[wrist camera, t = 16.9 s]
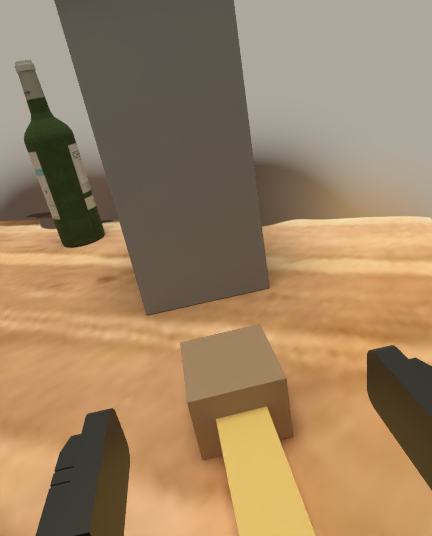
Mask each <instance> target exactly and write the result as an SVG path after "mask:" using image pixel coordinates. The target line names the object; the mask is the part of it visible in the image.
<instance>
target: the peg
mask: <svg viewBox="0 0 432 536" xmlns="http://www.w3.org/2000/svg"><path fill="white" fill-rule="evenodd" d="M180 345H181V354H182V362H183V371H184V380H185V388H186V397H187V404H188V408H189V411H190V415H191V419H192V422H193V426H194V430H195V433H196V437H197V441H198V445H199V448H200V452H201V456H202V459H203V460H206V459H210V458H213V457H217V456H221V455H223V457H224V462H225V467H226V472H227V477H228V482H229V487H230V492H231V497H232V502H233V507H234V512H235V517H236V522H237V527H238V532H239V536H316V535H315V532H314V530H313V527H312V524H311V522H310V519H309V516H308V514H307V511H306V508H305V506H304V503H303V501H302V498H301V495H300V493H299V490H298V487H297V485H296V482H295V479H294V477H293V474H292V471H291V469H290V466H289V463H288V461H287V458H286V456H285V453H284V450H283V448H282V445H281V442H280V440H283V439H287V438H291V437H293V432H292V423H291V415H290V406H289V397H288V389H287V380H286V377H285V374H284V372H283V370H282V368H281V366H280V364H279V362H278V360H277V358H276V356H275V354H274V352H273V350H272V348H271V346H270V344H269V342H268V340H267V338H266V335H265V333H264V331H263V329H262V327H261V325H260V324H258V325H254V326H249V327H245V328H241V329H237V330H232V331H228V332H224V333H220V334H215V335H211V336H207V337H203V338H198V339H194V340H190V341H186V342H181V343H180Z"/></svg>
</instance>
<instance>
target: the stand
mask: <svg viewBox="0 0 432 536" xmlns="http://www.w3.org/2000/svg"><path fill="white" fill-rule="evenodd" d="M54 1H55V4H56V7H57V10H58V14H59V17H60V21H61V24H62V28H63V31H64V34H65V38H66V41H67V45H68V48H69V52H70V55H71V58H72V62H73V65H74V68H75V72H76V75H77V79H78V82H79V86H80V89H81V92H82V96H83V99H84V103H85V106H86V109H87V113H88V116H89V119H90V123H91V126H92V130H93V133H94V136H95V140H96V143H97V147H98V150H99V154H100V157H101V160H102V164H103V167H104V170H105V174H106V177H107V180H108V184H109V187H110V191H111V194H112V198H113V201H114V204H115V208H116V211H117V214H118V218H119V222H120V225H121V228H122V232H123V235H124V239H125V242H126V245H127V249H128V252H129V256H130V259H131V262H132V266H133V269H134V273H135V276H136V279H137V283H138V286H139V290H140V293H141V296H142V300H143V303H144V307H145V310H146V313H147V315H150V314H155V313H159V312H164V311H168V310H173V309H177V308H182V307H186V306H191V305H195V304H200V303H204V302H209V301H213V300H218V299H222V298H227V297H231V296H236V295H240V294H245V293H249V292H254V291H258V290H263V289H267V288H269V281H268V273H267V265H266V257H265V249H264V241H263V233H262V224H261V217H260V208H259V200H258V192H257V184H256V176H255V168H254V160H253V153H252V144H251V137H250V129H249V120H248V112H247V104H246V96H245V88H244V80H243V71H242V63H241V56H240V47H239V39H238V31H237V23H236V15H235V7H234V0H54Z"/></svg>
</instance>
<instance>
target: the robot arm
mask: <svg viewBox="0 0 432 536" xmlns="http://www.w3.org/2000/svg"><path fill="white" fill-rule="evenodd" d="M367 391H368V395H369V398H370V401H371V403H372V405H373V407H374V409H375V410H376V411H377V413H378V414H379V416H380V417H381V419H382V420H383V421H384V423H385V424H386V426H387V427H388V429H389V430H390V431H391V433H392V434H393V436H394V437H395V439H396V440H397V441H398V443H399V444H400V446H401V447H402V448H403V450H404V451H405V453H406V454H407V456H408V457H409V458H410V460H411V461H412V463H413V464H414V466H415V467H416V468H417V470H418V471H419V473H420V474H421V476H422V477H423V478H424V480H425V481H426V483H427V484H428V486H429V487H430V488H431V490H432V366H430V365H428V364H426V363H424V362H423V361H421V360H419V359H417V358H412V359H408V358H407V357H406V356H405V355H404V354H403V353H402V352H401V351H400V350H399V349H398V348H397V347H395V346H393V345H391V346H386V347H382V348H377V349H373V350H369V351H368V353H367ZM129 468H130V455H129V448H128V444H127V441H126V438H125V436H124V433H123V430H122V428H121V425H120V422H119V420H118V417H117V415H116V412H115V410H114V409H113V408H111V409H106V410H102V411H98V412H93V413H89V414H87V415H86V418H85V422H84V426H83V430H82V434H79V435H74V436H71V437H70V439H69V440H68V442H67V443H66V445H65V446H64V447H63V449H62V450H61V452H60V454H59V457H58V461H57V464H56V467H55V474H53V478H52V481H51V485H50V486H51V488H50V489H49V492H48V495H47V498H46V502H45V505H44V509H43V512H42V516H41V519H40V522H39V526H38V529H37V533H36V536H124V525H125V514H126V502H127V491H128V479H129Z"/></svg>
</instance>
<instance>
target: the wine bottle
mask: <svg viewBox="0 0 432 536" xmlns="http://www.w3.org/2000/svg"><path fill="white" fill-rule="evenodd" d="M15 68H16V71H17V73H18V75H19V78H20V81H21V84H22V87H23V91H24V94H25V97H26V100H27V103H28V106H29V109H30V112H31V122H30V124H29V126H28V128H27V130H26V132H25V136H24V141H25V145H26V148H27V150H28V153H29V156H30V158H31V161H32V164H33V166H34V169H35V172H36V174H37V177H38V180H39V182H40V185H41V188H42V191H43V193H44V196H45V199H46V201H47V204H48V207H49V209H50V212H51V215H52V217H53V220H54V222H55V225H56V227H57V231H58V233H59V236H60V239H61V241H62V244H63V245H64V246H66V247H78V246H83V245H87V244H90V243H92V242H95V241H97V240H99V239H100V238H102V237H103V235H104V229H103V226H102V223H101V220H100V216H99V213H98V210H97V207H96V204H95V201H94V198H93V194H92V191H91V188H90V185H89V182H88V179H87V176H86V172H85V170H84V166H83V163H82V160H81V157H80V153H79V150H78V147H77V144H76V141H75V138H74V135H73V132H72V130H71V129H70V128H69V127H68V126H67V125H66V124H65V123H63V122H62V121H60V120H58V119H57V118H55V117H54V116H53V115H52V113H51V112H50V109H49V107H48V105H47V101H46V99H45V96H44V93H43V91H42V89H41V85H40V83H39V80H38V78H37V75H36V72H35V67H34V64H33V63H32V61H30V60H25V61H19V62H16V63H15Z"/></svg>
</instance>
